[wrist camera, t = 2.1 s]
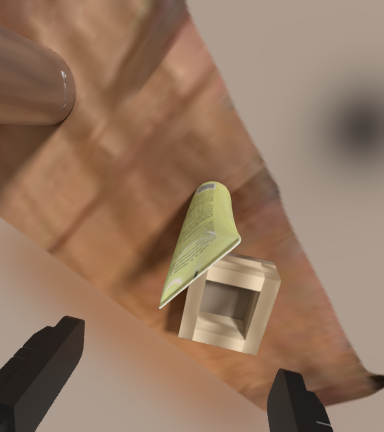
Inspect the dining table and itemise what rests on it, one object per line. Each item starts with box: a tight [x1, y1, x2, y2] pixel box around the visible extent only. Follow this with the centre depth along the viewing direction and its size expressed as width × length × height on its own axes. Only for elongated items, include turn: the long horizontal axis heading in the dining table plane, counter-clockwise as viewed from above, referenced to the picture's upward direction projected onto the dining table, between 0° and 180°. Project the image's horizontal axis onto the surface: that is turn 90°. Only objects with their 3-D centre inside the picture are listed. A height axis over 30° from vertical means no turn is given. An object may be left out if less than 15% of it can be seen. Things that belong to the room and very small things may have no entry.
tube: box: [159, 181, 241, 309], centre depth 26 cm, size 6×5×20 cm
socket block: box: [178, 253, 281, 355], centre depth 36 cm, size 11×12×5 cm
